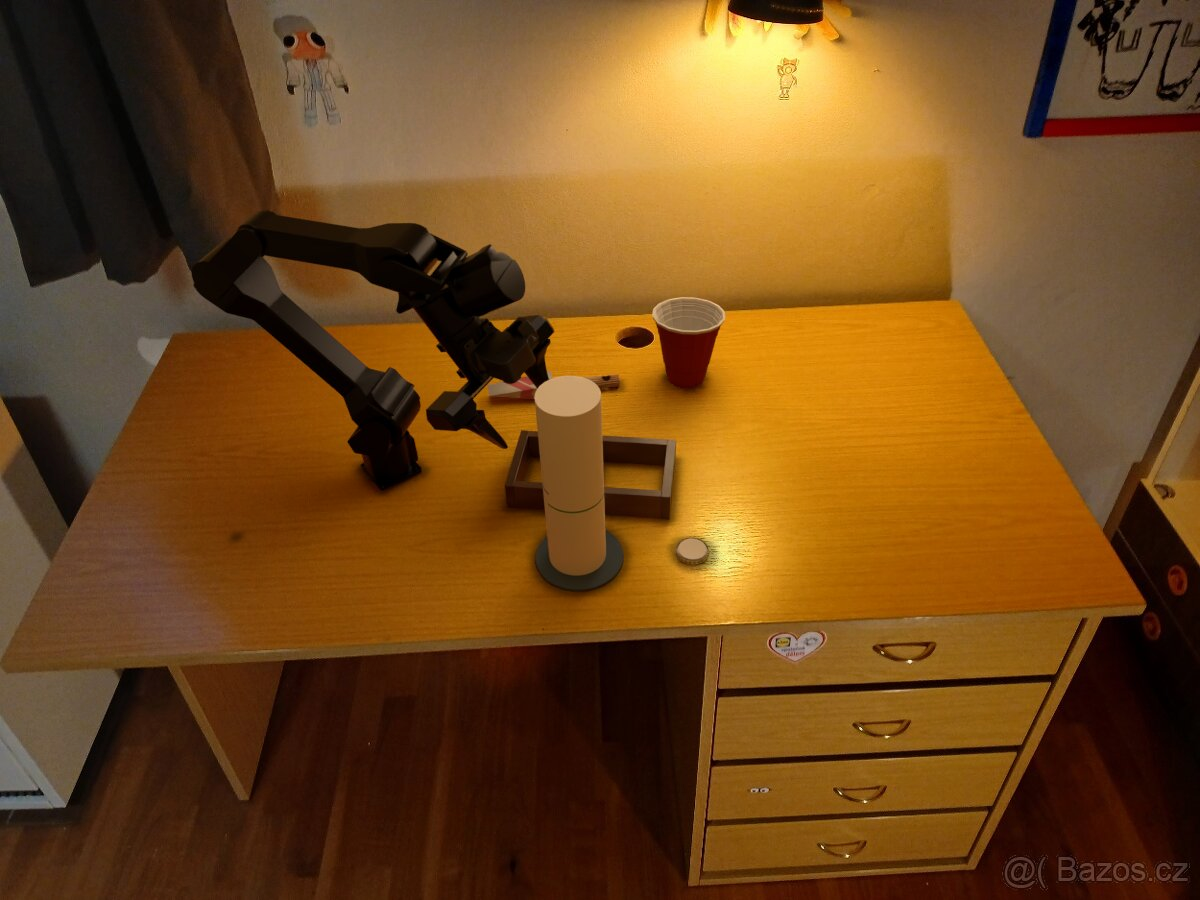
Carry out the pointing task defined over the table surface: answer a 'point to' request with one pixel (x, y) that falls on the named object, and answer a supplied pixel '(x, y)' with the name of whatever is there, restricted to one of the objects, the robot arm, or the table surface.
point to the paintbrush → (528, 389)
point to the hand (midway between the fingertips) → (528, 423)
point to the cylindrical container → (572, 472)
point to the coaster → (588, 580)
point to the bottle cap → (692, 550)
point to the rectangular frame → (614, 498)
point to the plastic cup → (687, 338)
